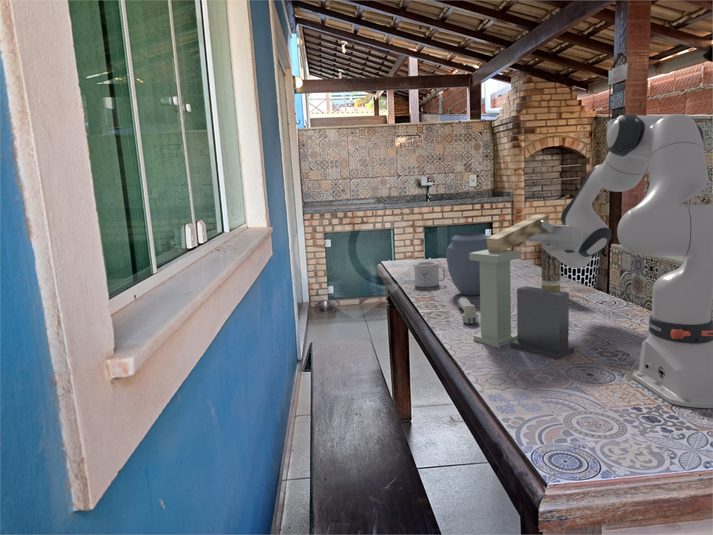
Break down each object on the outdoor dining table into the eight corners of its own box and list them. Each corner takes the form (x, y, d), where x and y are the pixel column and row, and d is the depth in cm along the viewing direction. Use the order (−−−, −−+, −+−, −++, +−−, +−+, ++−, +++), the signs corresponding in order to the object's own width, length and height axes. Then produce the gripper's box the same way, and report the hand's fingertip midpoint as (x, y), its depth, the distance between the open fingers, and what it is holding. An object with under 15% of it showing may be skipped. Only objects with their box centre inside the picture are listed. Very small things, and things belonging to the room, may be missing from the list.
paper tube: (561, 296, 196) (562, 231, 192) (543, 296, 197) (543, 231, 193) (558, 292, 203) (558, 229, 198) (540, 292, 204) (540, 230, 200)
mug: (413, 287, 228) (412, 265, 226) (417, 282, 238) (416, 261, 236) (443, 287, 224) (442, 265, 222) (446, 282, 234) (446, 261, 232)
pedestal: (493, 333, 157) (492, 248, 152) (521, 340, 149) (520, 251, 144) (471, 340, 151) (469, 253, 146) (498, 348, 143) (497, 255, 138)
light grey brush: (469, 295, 190) (479, 302, 165) (470, 313, 190) (479, 323, 166) (455, 296, 191) (462, 303, 166) (455, 314, 191) (463, 324, 166)
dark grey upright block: (529, 340, 148) (528, 284, 145) (574, 352, 136) (575, 291, 133) (511, 347, 143) (510, 289, 140) (556, 359, 132) (557, 297, 129)
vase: (437, 294, 211) (435, 235, 207) (467, 286, 223) (465, 230, 219) (476, 301, 196) (474, 238, 192) (505, 292, 208) (505, 232, 204)
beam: (538, 226, 160) (536, 214, 158) (549, 227, 156) (548, 214, 155) (488, 251, 147) (486, 238, 146) (499, 252, 144) (497, 239, 143)
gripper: (530, 230, 171) (507, 212, 163) (589, 233, 155) (566, 214, 147) (525, 247, 170) (501, 231, 162) (583, 252, 154) (560, 234, 146)
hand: (532, 222), depth 155 cm, fingers closed on beam, 4 cm apart
